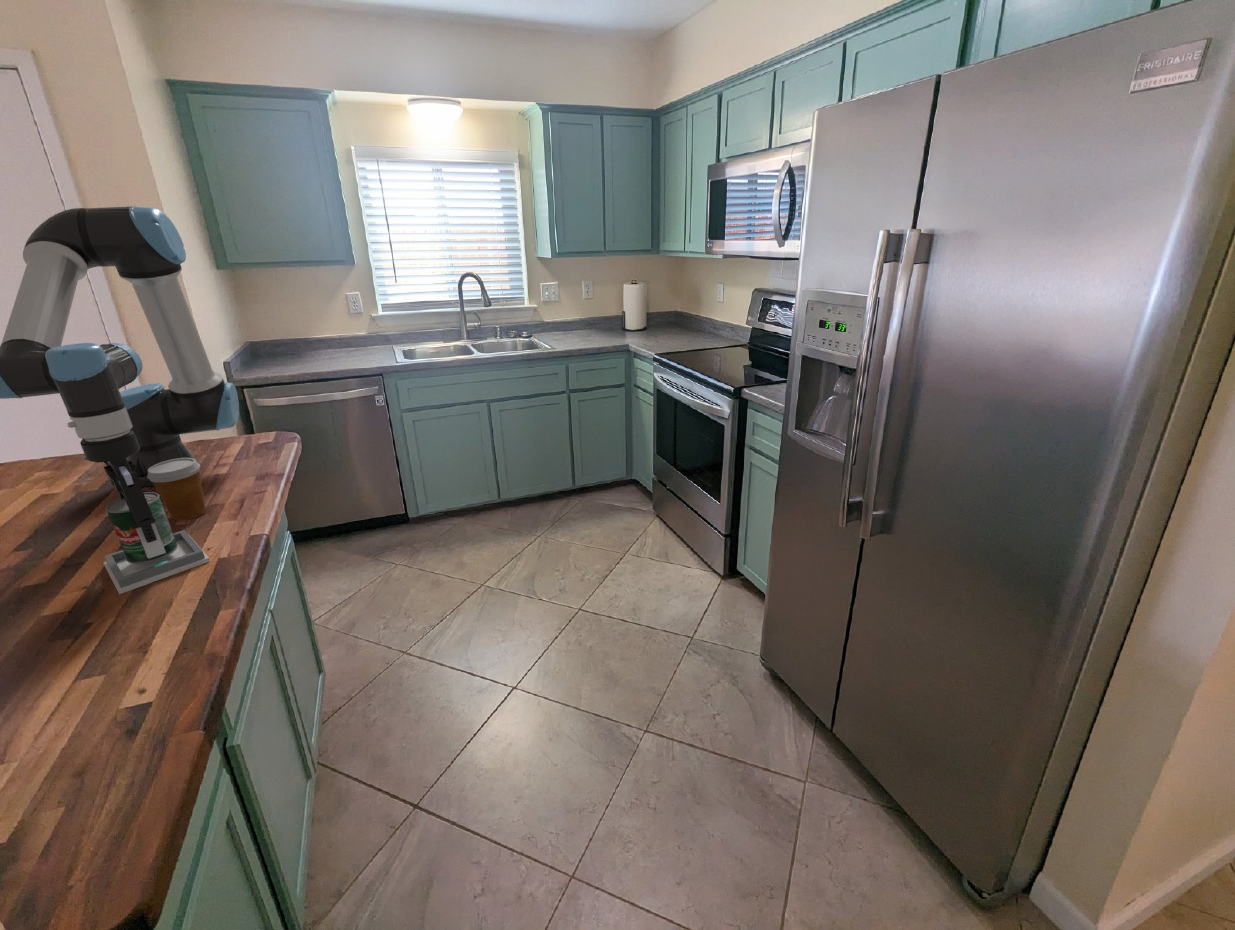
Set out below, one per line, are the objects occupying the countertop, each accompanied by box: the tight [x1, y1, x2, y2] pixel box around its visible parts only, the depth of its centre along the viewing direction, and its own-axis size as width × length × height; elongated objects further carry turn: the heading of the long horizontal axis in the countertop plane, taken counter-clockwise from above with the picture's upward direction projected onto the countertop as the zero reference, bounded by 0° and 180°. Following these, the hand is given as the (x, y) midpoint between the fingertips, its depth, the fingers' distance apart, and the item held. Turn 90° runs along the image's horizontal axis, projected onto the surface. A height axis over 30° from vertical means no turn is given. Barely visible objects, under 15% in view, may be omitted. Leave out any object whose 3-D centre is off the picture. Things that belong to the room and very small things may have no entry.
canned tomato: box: [105, 491, 178, 564], centre depth 109 cm, size 8×8×11 cm
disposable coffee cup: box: [147, 458, 207, 521], centre depth 129 cm, size 10×10×12 cm
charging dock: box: [103, 529, 211, 595], centre depth 112 cm, size 14×14×2 cm
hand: (151, 547), depth 111 cm, fingers closed on canned tomato, 8 cm apart
